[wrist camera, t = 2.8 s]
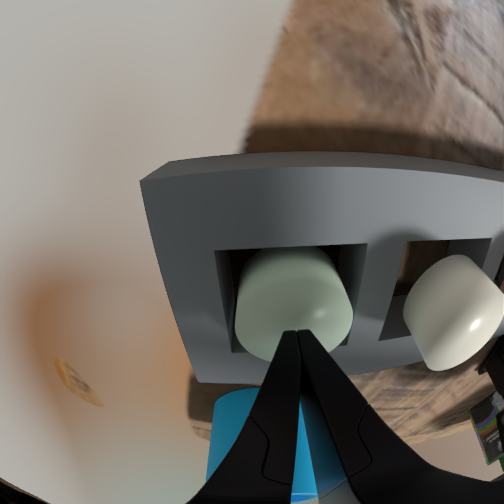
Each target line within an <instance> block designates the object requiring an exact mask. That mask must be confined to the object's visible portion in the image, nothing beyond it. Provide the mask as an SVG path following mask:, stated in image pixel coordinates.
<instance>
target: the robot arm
mask: <svg viewBox="0 0 504 504" xmlns="http://www.w3.org/2000/svg"><path fill="white" fill-rule="evenodd" d="M485 372H488V374H489V376H490V378H491V380H492V382H493V384H494V386H495V388H496V390H497V392H498V394H499V395H501V396H502V398H503V401H504V334H503V335H502V336H501V337H500V339H499V341H498V342H497V344H496V345H495V347H494V348H493V350H492V351H491V353H490V354H489V356H488V357H487V359H486V360H485V362H484V363H483V365H482V366H481V367H480V369H479V370H478V374H479V375H481V374H483V373H485ZM300 404H301V409H302V414H303V419H304V424H305V429H306V435H307V440H308V445H309V451H310V456H311V461H312V467H313V472H314V478H315V483H316V489H317V495H318V499H319V504H504V474H502V475H501V476H499V477H497V478H495V479H494V480H492V481H490V482H489V481H482V480H478V479H474V478H470V477H466V476H462V475H459V474H455V473H452V472H448V471H445V470H442V469H439V468H437V467H435V466H433V465H431V464H429V463H428V462H426V461H425V460H424V459H423V458H421V457H420V456H419V455H418V454H417V453H416V452H415V451H414V450H413V449H412V448H410V447H409V446H408V445H407V444H406V443H405V442H404V441H403V440H402V439H401V438H400V437H399V436H398V435H397V434H396V433H395V432H394V431H393V430H392V429H391V428H390V427H389V426H388V425H387V424H386V423H385V422H384V421H383V420H382V419H381V418H380V416H379V415H378V414H377V413H376V412H375V410H374V409H373V408H372V407H371V405H370V404H368V402H367V400H366V399H365V398H364V397H363V395H362V394H361V393H360V392H359V390H358V389H357V388H356V387H355V385H354V384H353V383H352V382H351V380H350V379H349V378H348V377H347V375H346V374H345V373H344V372H343V370H342V369H341V368H340V367H339V365H338V364H337V363H336V362H335V360H334V359H333V358H332V357H331V355H330V354H329V353H328V351H327V350H326V349H325V348H324V346H323V345H322V344H321V343H320V341H319V340H318V339H317V338H316V336H315V335H314V334H313V333H312V331H311V330H310V329H300V330H297V332H296V330H285V331H283V333H282V336H281V338H280V341H279V343H278V346H277V348H276V351H275V353H274V356H273V358H272V361H271V363H270V365H269V368H268V370H267V373H266V375H265V377H264V380H263V382H262V385H261V387H260V389H259V392H258V394H257V396H256V398H255V401H254V403H253V405H252V407H251V410H250V412H249V414H248V415H249V416H247V418H246V420H245V422H244V425H243V427H242V429H241V431H240V433H239V434H238V436H237V438H236V440H235V442H234V443H233V445H232V447H231V448H230V450H229V451H228V453H227V454H226V456H225V457H224V459H223V460H222V461H221V463H220V464H219V466H218V467H217V468H216V470H215V471H214V472H213V474H212V475H211V477H210V478H209V479H208V481H207V482H206V483H205V484H204V486H203V487H202V488H201V489H200V490H199V491H198V493H197V494H196V495H195V496H194V497H193V498H192V499H191V500H190V501H188V502H187V503H186V504H291V495H292V485H293V478H294V469H295V459H296V448H297V436H298V423H299V408H300ZM367 404H368V405H367ZM496 420H497V421H496V423H497V427H498V432H499V436H500V441H501V446H502V453H503V454H504V409H503V410H502V411H500V412H499V413H497V414H496ZM0 504H50V503H48V502H46V501H44V500H42V499H40V498H38V497H37V496H34V495H32V494H30V493H28V492H26V491H24V490H22V489H20V488H18V487H16V486H14V485H12V484H11V483H9V482H7V481H5V480H4V479H2V478H0Z"/></svg>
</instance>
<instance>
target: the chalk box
mask: <svg viewBox="0 0 504 504" xmlns="http://www.w3.org/2000/svg"><path fill="white" fill-rule="evenodd" d="M503 409H504V401H503V398H502V396H501V395H499V394H498V392H497V391H496V392H495V393H493V394H492V395H491V396H489V397H488V398H487V399H485V400H484V401H482V402H481V403H480V404H478V405H477V406H475V407H474V408H472V409H471V410H470V411H469V414H470V419H471V422H472V425H473V427H474V430H475V432H476V434H477V437H478V440H479V442H480V445H481V448H482V451H483V454H484V457H485V459H486V463H487V465H490V464H492V463H493V462H495V461H496V460H498V459H499V461H500V463H501V467H502V470H503V472H504V454H503V453H502V446H501V441H500V436H499V432H498V427H497V423H496V421H497V420H496V414H497V413H499V412H500V411H502V410H503Z"/></svg>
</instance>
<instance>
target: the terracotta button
mask: <svg viewBox="0 0 504 504" xmlns="http://www.w3.org/2000/svg"><path fill="white" fill-rule="evenodd" d="M500 291H501V292H502V293H503V294H504V280H503V282H502V284H501V287H500Z"/></svg>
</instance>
